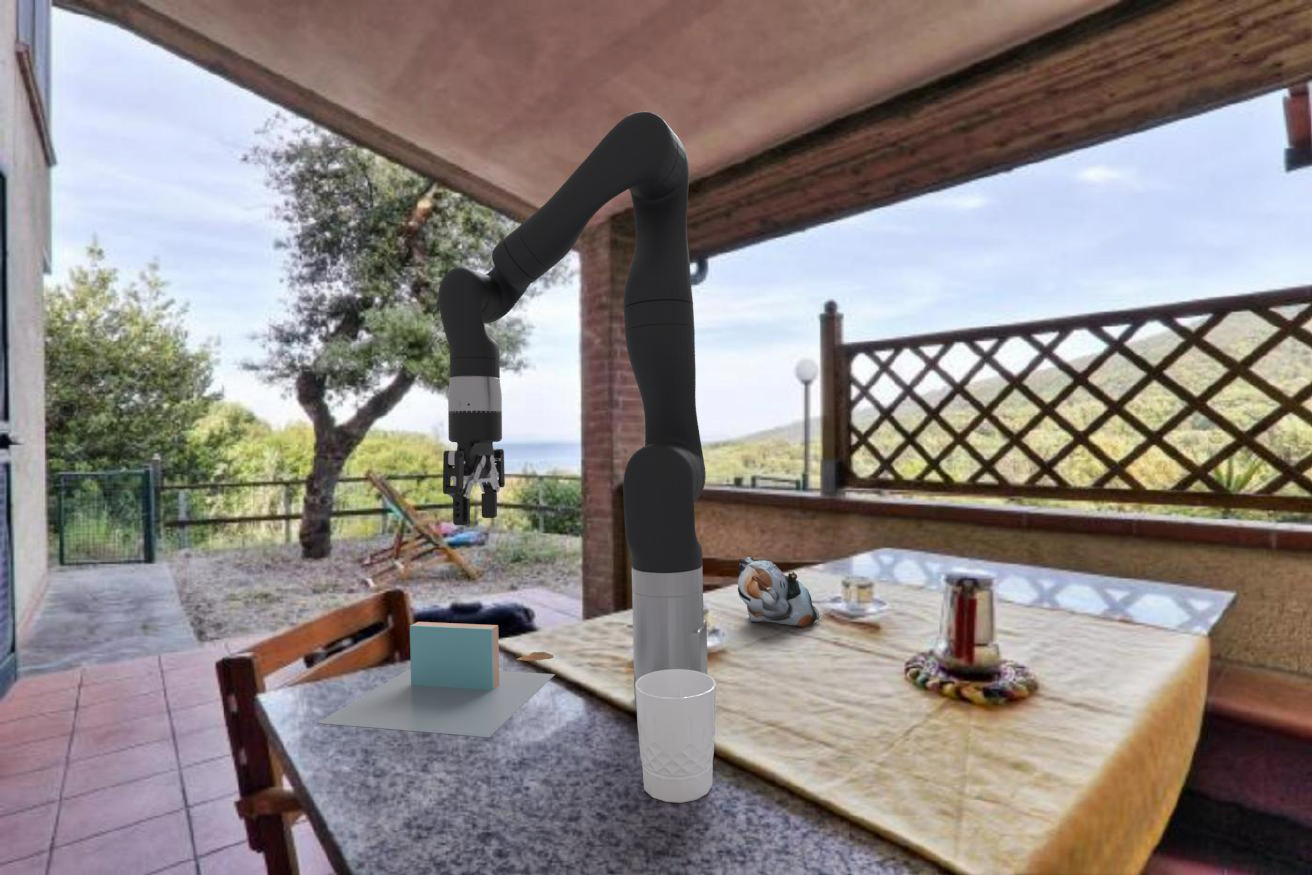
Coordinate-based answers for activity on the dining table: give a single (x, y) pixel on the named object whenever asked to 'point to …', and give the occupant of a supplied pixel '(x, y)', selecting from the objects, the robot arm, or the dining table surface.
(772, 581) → the lucky cat figurine
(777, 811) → the dining table surface
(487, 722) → the board
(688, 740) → the white cup
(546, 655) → the shard
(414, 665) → the tile
